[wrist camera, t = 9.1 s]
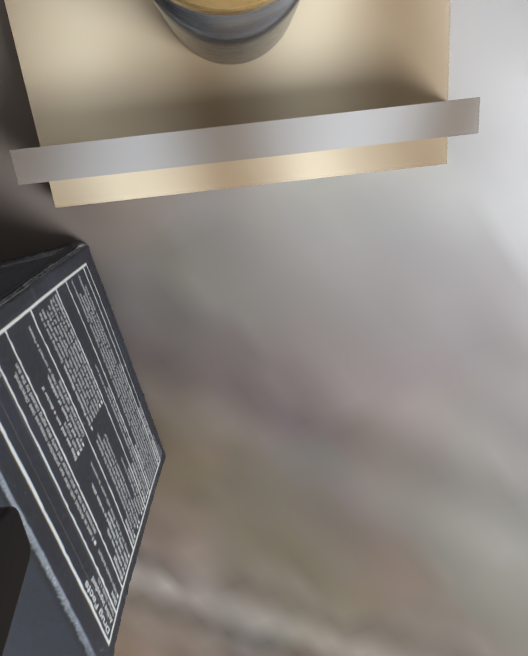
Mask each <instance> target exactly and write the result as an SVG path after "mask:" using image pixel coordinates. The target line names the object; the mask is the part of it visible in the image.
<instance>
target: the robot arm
mask: <svg viewBox="0 0 528 656" xmlns="http://www.w3.org/2000/svg"><path fill="white" fill-rule="evenodd" d="M30 554H31V548H30V542H29V539H28V537H27V534H26V531H25V528H24V525H23V522H22V519H21V516H20V514H19V511H18V510H17V509H16V508H15V507H13V506H6V507H0V656H2V655H3V652H4V648H5V645H6V642H7V639H8V635H9V632H10V628H11V625H12V621H13V618H14V614H15V610H16V607H17V603H18V600H19V596H20V593H21V589H22V586H23V582H24V578H25V575H26V571H27V568H28V564H29V560H30Z"/></svg>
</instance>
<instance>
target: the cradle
mask: <svg viewBox="0 0 528 656" xmlns="http://www.w3.org/2000/svg"><path fill="white" fill-rule="evenodd" d="M4 2H5V6H6V10H7V14H8V18H9V22H10V26H11V30H12V34H13V38H14V42H15V46H16V50H17V54H18V58H19V62H20V66H21V70H22V74H23V78H24V82H25V86H26V90H27V94H28V99H29V103H30V107H31V111H32V115H33V119H34V123H35V127H36V131H37V135H38V139H39V143H40V147H34V148H25V149H17V150H9V151H10V155H11V159H12V162H13V166H14V170H15V174H16V177H17V181H18V185H24V184H33V183H42V182H49V183H50V187H51V191H52V196H53V200H54V204H55V208H58V207H67V206H75V205H84V204H93V203H102V202H111V201H120V200H129V199H138V198H146V197H155V196H164V195H173V194H182V193H191V192H200V191H209V190H217V189H226V188H235V187H244V186H253V185H262V184H271V183H279V182H288V181H297V180H306V179H315V178H324V177H333V176H342V175H350V174H359V173H368V172H377V171H386V170H395V169H404V168H413V167H421V166H430V165H439V164H447V137H449V136H458V135H467V134H476V133H478V129H479V105H480V97H477V98H468V99H459V100H450V101H448V78H449V32H450V0H300V2H299V4H298V7H297V9H296V11H295V13H294V16H293V18H292V20H291V22H290V25H289V27H288V29H287V30H286V32H285V33H284V35H283V37H282V38H281V39H280V40H279V42H278V43H277V44H276V45H275V46H274V47H273V48H272V49H271V50H270V51H268V52H267V53H265V54H264V55H263V56H261V57H259V58H257V59H255V60H253V61H250V62H247V63H242V64H236V65H225V64H218V63H214V62H210V61H208V60H206V59H203V58H201V57H200V56H198V55H196V54H194V53H193V52H192V51H191V50H189V49H188V48H187V47H186V46H185V45H184V44H183V43H182V42H181V41H180V40H179V39H178V38H177V36H176V35H175V34H174V33H173V31H172V29H171V28H170V26H169V25H168V23H167V22H166V20H165V19H164V17H163V15H162V14H161V12H160V11H159V9H158V8H157V6H156V5H155V3H154V1H153V0H4Z"/></svg>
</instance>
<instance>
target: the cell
mask: <svg viewBox="0 0 528 656" xmlns="http://www.w3.org/2000/svg"><path fill="white" fill-rule="evenodd" d="M153 1H154V3H155V5H156V6H157V8H158V9H159V11H160V12H161V14H162V15H163V17H164V19H165V20H166V22H167V23H168V25H169V26H170V28H171V29H172V31H173V33H174V34H175V35H176V36H177V38H178V39H179V40H180V41H181V42H182V43H183V44H184V45H185V46H186V47H187V48H188V49H189V50H191V51H192V52H193V53H194V54H196V55H198V56H200V57H201V58H203V59H206V60H208V61H210V62H214V63H218V64H225V65H236V64H242V63H247V62H250V61H253V60H255V59H257V58H259V57H261V56H263V55H264V54H265V53H267V52H268V51H270V50H271V49H272V48H273V47H274V46H275V45H276V44H277V43H278V42H279V40H280V39H281V38H282V37H283V35H284V33H285V32H286V30H287V29H288V27H289V25H290V22H291V20H292V18H293V16H294V13H295V11H296V9H297V7H298V4H299V2H300V0H153Z"/></svg>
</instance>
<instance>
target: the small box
mask: <svg viewBox="0 0 528 656" xmlns="http://www.w3.org/2000/svg"><path fill="white" fill-rule="evenodd" d="M165 458H166V456H165V452H164V450H163V448H162V445H161V442H160V439H159V436H158V433H157V431H156V428H155V425H154V423H153V419H152V417H151V414H150V412H149V409H148V406H147V403H146V401H145V398H144V394H143V392H142V390H141V387H140V384H139V382H138V379H137V376H136V373H135V371H134V368H133V366H132V363H131V360H130V357H129V354H128V352H127V349H126V347H125V344H124V340H123V338H122V335H121V333H120V330H119V328H118V325H117V322H116V319H115V317H114V314H113V311H112V309H111V306H110V303H109V300H108V298H107V295H106V292H105V290H104V287H103V284H102V282H101V279H100V277H99V274H98V272H97V269H96V266H95V264H94V261H93V259H92V256H91V253H90V250H89V247H88V245H86V244H84V243H81V242H78V241H75V242H73V243H68V244H65V245H63V246H61V247H59V248H58V249H55V250H45V251H43V252H42V253H38V254H37V253H34V254H31V255H30V256H28V257H26V256H23V257H21V258H19V259H14V260H10V261H2V262H0V507H6V506H13V507H15V508H16V509H17V510H18V511H19V514H20V516H21V519H22V522H23V525H24V528H25V531H26V534H27V537H28V539H29V542H30V548H31V554H30V560H29V564H28V568H27V571H26V575H25V578H24V582H23V586H22V589H21V593H20V596H19V600H18V603H17V607H16V610H15V614H14V618H13V621H12V625H11V628H10V632H9V635H8V639H7V642H6V645H5V648H4V652H3V655H2V656H114V647H115V643H116V639H117V634H118V630H119V626H120V622H121V616H122V612H123V608H124V604H125V598H126V596H127V594H128V587H129V583H130V581H131V577H132V573H133V570H134V567H135V564H136V559H137V555H138V551H139V547H140V544H141V540H142V537H143V533H144V529H145V525H146V522H147V518H148V515H149V511H150V506H151V504H152V501H153V497H154V493H155V489H156V486H157V482H158V479H159V476H160V474H161V470H162V466H163V464H164V461H165Z"/></svg>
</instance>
